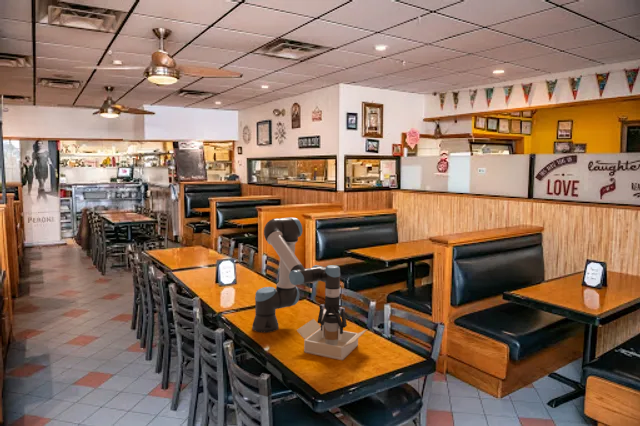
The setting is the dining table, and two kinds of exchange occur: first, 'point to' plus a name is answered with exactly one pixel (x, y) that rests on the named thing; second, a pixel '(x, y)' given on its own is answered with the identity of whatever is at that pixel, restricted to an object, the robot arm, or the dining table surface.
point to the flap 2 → (355, 338)
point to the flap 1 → (308, 328)
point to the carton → (319, 346)
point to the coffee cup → (331, 329)
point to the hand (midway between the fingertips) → (331, 338)
